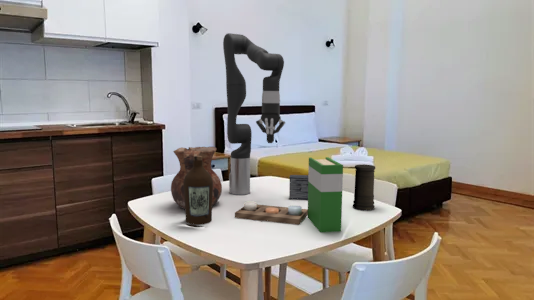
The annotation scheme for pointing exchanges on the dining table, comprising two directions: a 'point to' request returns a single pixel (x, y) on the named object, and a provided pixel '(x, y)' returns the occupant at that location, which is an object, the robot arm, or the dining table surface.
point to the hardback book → (325, 194)
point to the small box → (298, 187)
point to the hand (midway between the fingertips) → (270, 142)
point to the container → (364, 187)
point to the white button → (250, 206)
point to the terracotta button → (272, 210)
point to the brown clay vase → (186, 165)
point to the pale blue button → (295, 210)
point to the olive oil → (198, 194)
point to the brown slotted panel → (271, 215)
